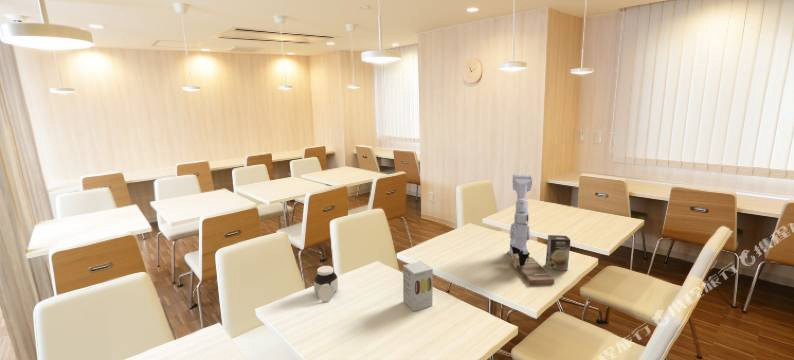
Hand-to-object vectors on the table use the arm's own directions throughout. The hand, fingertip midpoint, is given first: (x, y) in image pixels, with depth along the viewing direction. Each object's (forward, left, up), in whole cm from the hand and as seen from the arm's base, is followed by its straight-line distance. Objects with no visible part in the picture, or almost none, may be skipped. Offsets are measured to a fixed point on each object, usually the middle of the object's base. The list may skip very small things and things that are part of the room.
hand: (519, 261), depth 190 cm
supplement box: (+28, -55, -3) cm, 61 cm away
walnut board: (+6, +4, -3) cm, 8 cm away
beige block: (0, +1, -2) cm, 3 cm away
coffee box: (+2, +19, -3) cm, 19 cm away
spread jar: (+17, -94, -3) cm, 95 cm away
